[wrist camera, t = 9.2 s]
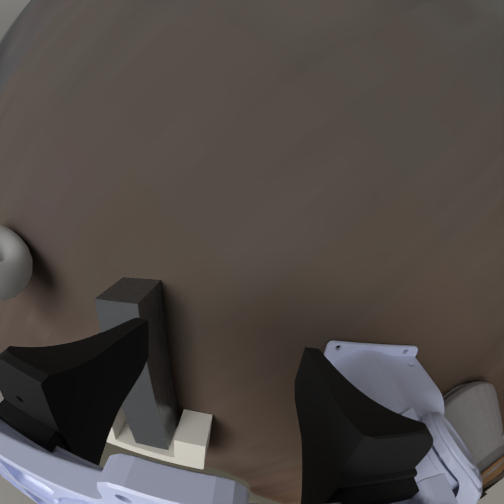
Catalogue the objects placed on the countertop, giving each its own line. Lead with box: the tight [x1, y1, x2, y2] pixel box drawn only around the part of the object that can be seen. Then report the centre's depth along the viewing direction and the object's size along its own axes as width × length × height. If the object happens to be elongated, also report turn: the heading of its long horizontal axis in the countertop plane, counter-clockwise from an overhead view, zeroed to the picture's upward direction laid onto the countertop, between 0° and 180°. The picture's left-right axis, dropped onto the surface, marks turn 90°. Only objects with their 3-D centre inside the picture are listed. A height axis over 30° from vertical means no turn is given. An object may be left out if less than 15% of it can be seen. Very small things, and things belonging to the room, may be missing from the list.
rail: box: [95, 277, 179, 450], centre depth 22 cm, size 4×16×5 cm, turn 178°
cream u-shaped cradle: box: [106, 406, 212, 469], centre depth 24 cm, size 12×5×4 cm, turn 81°
